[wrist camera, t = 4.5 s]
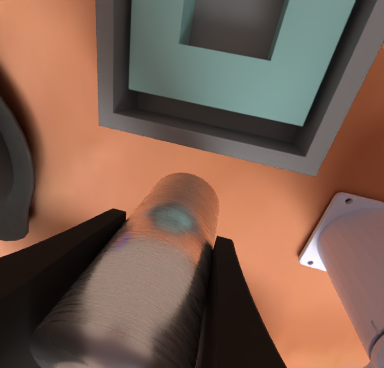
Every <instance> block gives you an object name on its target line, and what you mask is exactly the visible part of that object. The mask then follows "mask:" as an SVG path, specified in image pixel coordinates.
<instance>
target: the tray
mask: <svg viewBox="0 0 384 368" xmlns="http://www.w3.org/2000/svg"><path fill="white" fill-rule="evenodd" d="M96 37H97V73H98V110H99V126H103V127H108V128H112V129H116V130H120V131H124V132H129V133H133V134H137V135H141V136H145V137H150V138H154V139H158V140H162V141H166V142H171V143H175V144H179V145H183V146H187V147H192V148H196V149H200V150H204V151H209V152H213V153H217V154H221V155H225V156H230V157H234V158H238V159H242V160H246V161H251V162H255V163H259V164H263V165H267V166H272V167H276V168H280V169H284V170H289V171H293V172H297V173H301V174H305V175H310V176H314V177H315V176H316V174H317V173H318V171H319V169H320V167H321V165H322V163H323V161H324V159H325V157H326V155H327V153H328V151H329V149H330V147H331V145H332V143H333V141H334V139H335V137H336V135H337V133H338V131H339V129H340V127H341V125H342V123H343V121H344V119H345V117H346V115H347V113H348V111H349V109H350V107H351V105H352V103H353V101H354V99H355V97H356V95H357V93H358V91H359V89H360V87H361V85H362V83H363V81H364V79H365V77H366V75H367V73H368V71H369V70H370V68H371V66H372V64H373V62H374V60H375V58H376V56H377V54H378V52H379V50H380V48H381V46H382V44H383V42H384V0H96Z"/></svg>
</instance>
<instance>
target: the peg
mask: <svg viewBox="0 0 384 368" xmlns="http://www.w3.org/2000/svg"><path fill="white" fill-rule="evenodd" d="M218 213H219V201H218V197H217V195H216V193H215V191H214V190H213V188H212V187H211V186H210V185H209V184H208V183H207V182H206V181H204V180H203V179H201V178H200V177H198V176H195V175H192V174H188V173H174V174H170V175H168V176H166V177H164V178H162V179H161V180H160V181H159V182H158V183H157V184H156V185H155V187H154V188H153V189H152V190H151V191H150V193H149V194H148V195H147V196H146V197H145V199H144V200H143V201H142V202H141V203H140V205H139V206H138V207H137V208H136V209H135V211H134V212H133V213H132V214H131V215H130V217H129V218H128V219H127V220H126V221H125V223H124V224H123V225H122V226H121V227H120V229H119V230H118V231H117V232H116V233H115V235H114V236H113V237H112V238H111V240H110V241H109V242H108V243H107V244H106V246H105V247H104V248H103V249H102V250H101V252H100V253H99V254H98V255H97V256H96V258H95V259H94V260H93V261H92V262H91V264H90V265H89V266H88V267H87V268H86V270H85V271H84V272H83V273H82V274H81V276H80V277H79V278H78V279H77V280H76V282H75V283H74V284H73V285H72V286H71V288H70V289H69V290H68V291H67V292H66V294H65V295H64V296H63V297H62V299H61V300H60V301H59V302H58V303H57V305H56V306H55V307H54V308H53V309H52V311H51V312H50V313H49V314H48V315H47V317H46V318H45V319H44V320H43V321H42V323H41V324H40V325H39V326H38V327H37V329H36V330H35V331H34V332H33V334H32V335H31V337H30V340H29V347H30V350H31V353H32V355H33V357H34V359H35V360H36V362H37V363H38V365H39V366H40V367H41V368H196V361H197V355H198V348H199V341H200V334H201V328H202V321H203V314H204V307H205V301H206V294H207V287H208V280H209V274H210V267H211V260H212V253H213V247H214V240H215V233H216V226H217V220H218Z"/></svg>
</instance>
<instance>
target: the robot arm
mask: <svg viewBox="0 0 384 368" xmlns="http://www.w3.org/2000/svg"><path fill="white" fill-rule="evenodd" d="M348 198H350V200H349V201H347V202H345V200H346V199H348ZM125 221H126V212H125V211H121V210H117V209H114V208H113V209H111V210H108V211H106V212H104V213H102V214H100V215H98V216H96V217H94V218H92V219H90V220H88V221H86V222H83V223H81V224H79V225H77V226H75V227H73V228H71V229H69V230H67V231H64V232H62V233H60V234H58V235H55V236H53V237H51V238H48V239H46V240H44V241H41V242H39V243H37V244H34V245H32V246H30V247H27V248H25V249H22V250H19V251H17V252H14V253H11V254H9V255H6V256H3V257H0V368H41V367H40V366H39V365H38V363H37V362H36V360H35V359H34V357H33V355H32V353H31V350H30V347H29V340H30V337H31V335H32V334H33V332H34V331H35V330H36V329H37V327H38V326H39V325H40V324H41V323H42V321H43V320H44V319H45V318H46V317H47V315H48V314H49V313H50V312H51V311H52V309H53V308H54V307H55V306H56V305H57V303H58V302H59V301H60V300H61V299H62V297H63V296H64V295H65V294H66V292H67V291H68V290H69V289H70V288H71V286H72V285H73V284H74V283H75V282H76V280H77V279H78V278H79V277H80V276H81V274H82V273H83V272H84V271H85V270H86V268H87V267H88V266H89V265H90V264H91V262H92V261H93V260H94V259H95V258H96V256H97V255H98V254H99V253H100V252H101V250H102V249H103V248H104V247H105V246H106V244H107V243H108V242H109V241H110V240H111V238H112V237H113V236H114V235H115V233H116V232H117V231H118V230H119V229H120V227H121V226H122V225H123V224H124V223H125ZM298 260H299V263H300V264H302V265H306V266H309V267H313V268H316V269H320V270H323V271H327V273H328V275H329V277H330V279H331V281H332V283H333V285H334V287H335V289H336V291H337V293H338V295H339V297H340V300H341V302H342V304H343V306H344V308H345V310H346V312H347V314H348V316H349V318H350V320H351V322H352V324H353V326H354V328H355V330H356V332H357V334H358V336H359V339H360V341H361V343H362V345H363V347H364V349H365V351H366V353H367V355H368V357H369V359H370V363H369V364H368V365H367V366H365V367H364V368H384V202H382V201H378V200H374V199H369V198H365V197H361V196H357V195H353V194H349V193H345V192H339V193H337V194H335V196H334V197H333V199H332V200H331V202H330V204H329V206H328V207H327V209H326V211H325V213H324V214H323V216H322V218H321V219H320V221H319V223H318V225H317V226H316V228H315V230H314V232H313V233H312V235H311V237H310V238H309V240H308V242H307V244H306V245H305V247H304V249H303V251H302V252H301V254H300V256H299V258H298ZM308 261H311V262H308ZM196 368H287V367H286V365H285V363H284V362H283V360H282V358H281V356H280V354H279V353H278V351H277V349H276V347H275V345H274V343H273V341H272V339H271V337H270V335H269V333H268V331H267V329H266V327H265V325H264V323H263V321H262V319H261V316H260V314H259V312H258V310H257V308H256V305H255V303H254V301H253V298H252V296H251V294H250V291H249V289H248V286H247V283H246V281H245V278H244V276H243V273H242V270H241V267H240V264H239V261H238V258H237V255H236V251H235V247H234V243H233V241H232V240H231V239H227V238H223V237H220V236H217V238H216V241H215V245H214V248H213V253H212V260H211V267H210V274H209V280H208V287H207V294H206V301H205V307H204V314H203V321H202V328H201V334H200V341H199V348H198V355H197V363H196Z"/></svg>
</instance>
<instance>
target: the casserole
mask: <svg viewBox="0 0 384 368" xmlns="http://www.w3.org/2000/svg"><path fill="white" fill-rule="evenodd" d="M34 189H35V170H34V165H33V159H32V154H31V152H30V149H29V146H28V143H27V141H26V138H25V135H24V133H23V131H22V129H21V127H20V125H19V123H18V122H17V120H16V118H15V116H14V114H13V112H12V111H11V110H10V108H9V107H8V105H7V104H6V102H5V101H4V99H3V98H2V97H1V95H0V240H3V241H16V240H19V239H22V238H24V237H25V236H26V235H27V233H28V224H29V207H30V204H31V200H32V196H33V192H34Z"/></svg>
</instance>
